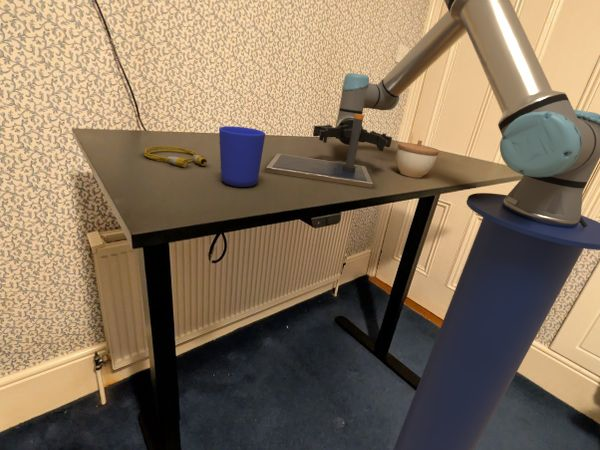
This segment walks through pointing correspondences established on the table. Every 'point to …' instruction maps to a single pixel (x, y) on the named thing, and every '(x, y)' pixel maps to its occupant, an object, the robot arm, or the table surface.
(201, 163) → the extension cord
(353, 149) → the stylus
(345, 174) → the tablet
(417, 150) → the trinket box
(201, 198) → the table surface
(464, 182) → the table surface
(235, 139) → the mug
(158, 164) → the table surface
